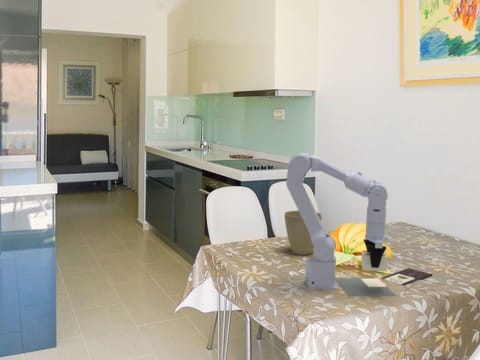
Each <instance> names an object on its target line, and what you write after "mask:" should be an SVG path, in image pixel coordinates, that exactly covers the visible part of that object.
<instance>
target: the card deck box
mask: <svg viewBox="0 0 480 360" xmlns="http://www.w3.org/2000/svg"><path fill="white" fill-rule="evenodd" d="M360 259H361V265H360V266H361V269H362V271H367V272H370V271H371V272H387V271H388V269H387V268H388V256H387V255H386V253H385V252H384V253H383V256H382V258H381V262H380V265H379V268H372V266H371V260H370V253H369V252H367V251H362V252H361V258H360Z"/></svg>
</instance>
